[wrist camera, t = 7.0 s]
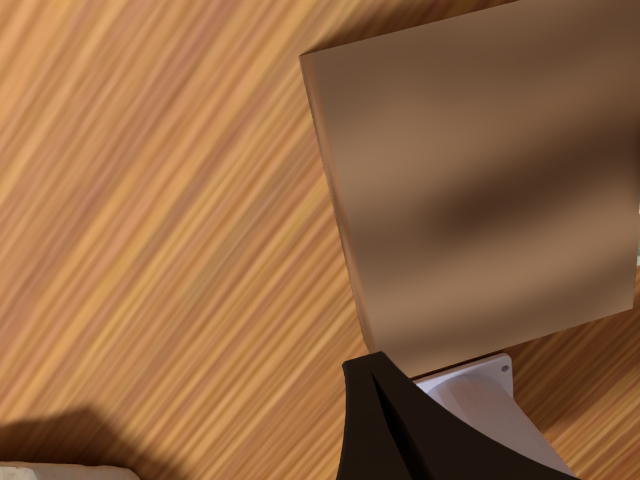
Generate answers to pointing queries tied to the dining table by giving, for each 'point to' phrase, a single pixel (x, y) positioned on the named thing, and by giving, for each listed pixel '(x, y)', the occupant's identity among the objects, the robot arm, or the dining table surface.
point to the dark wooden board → (484, 174)
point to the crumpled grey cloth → (62, 472)
